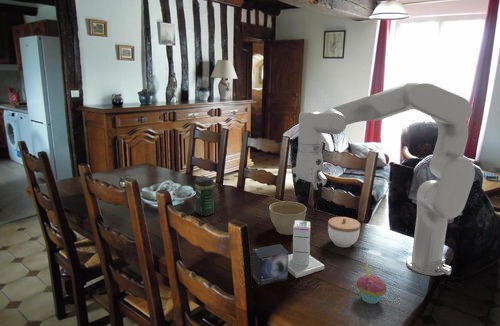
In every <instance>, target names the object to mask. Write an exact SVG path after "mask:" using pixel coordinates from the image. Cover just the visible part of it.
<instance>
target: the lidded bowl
mask: <svg viewBox="0 0 500 326" xmlns="http://www.w3.org/2000/svg"><path fill="white" fill-rule="evenodd" d="M360 230H361V223H360V222H359V220H356V219H355V218H350V217H347V216H334V217H331V218H329V220H328V221H327V231H328V233H327V234H328V236H329V238H330V240H331V241H332V242H333V244H334V245H335V246H337V247H340V248H350V247H351V246H352V245H353V244H355V243H356V242H357V241H358V239H359V235H360Z"/></svg>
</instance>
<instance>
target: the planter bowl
mask: <svg viewBox="0 0 500 326" xmlns="http://www.w3.org/2000/svg"><path fill="white" fill-rule="evenodd" d="M268 209H269V210H268V211H269V216H270V217H269V218H270V220H271V222H272V225H273V226H274V227H275V229H276V231H277V233H279V234H281V235H287V236H288V235H290V236H292V235H293V226H294V222H295V220H296V221H297V220H301V221H305V219H306V214H307V213H306V212H307V206H305V205H304V204H303V203H300V202H297V201H277V202H273V203H271V204H270V205H269V207H268Z"/></svg>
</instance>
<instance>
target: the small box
mask: <svg viewBox="0 0 500 326" xmlns="http://www.w3.org/2000/svg"><path fill="white" fill-rule="evenodd" d="M289 253H290V252H289V250H287V249H286V248H285V247H284V246H283V245H282V244H281V243H277V244H273V245H272V244H271V245H268V246H262V247H258V248H257V247H256V248H253V249H252V275H251V277H252V278H253V280H254V281H255V283H256V284H257V285H258V286H259V287H262V286H265V285H269V284H274V283H279V282H283V281H287V280H288V275H289V274H288V273H289V272H288V255H290V254H289Z"/></svg>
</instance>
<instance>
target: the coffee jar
mask: <svg viewBox="0 0 500 326" xmlns="http://www.w3.org/2000/svg"><path fill="white" fill-rule="evenodd" d="M194 186H195V187H194V188H195V213H197V214H198V213H199V214H198V215H200V214H201V215H200V216H202V215H204V216H207V215H208V214H211V215H212V213H213V214H214V213H215V206H214V205H215V202H214V186H215V184H214V180H213V178H210V177H207V176H206V175H200V176H196V178H195V179H194ZM208 216H209V215H208Z"/></svg>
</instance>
